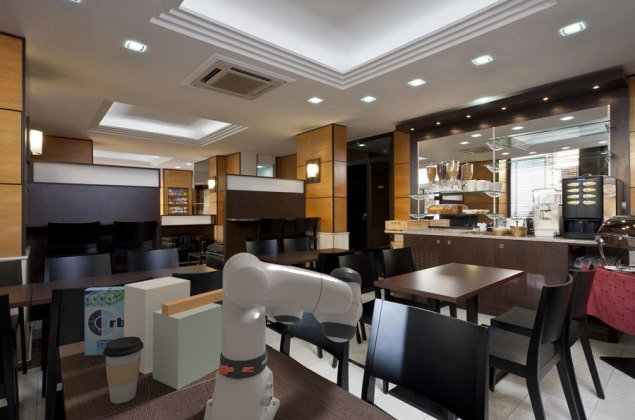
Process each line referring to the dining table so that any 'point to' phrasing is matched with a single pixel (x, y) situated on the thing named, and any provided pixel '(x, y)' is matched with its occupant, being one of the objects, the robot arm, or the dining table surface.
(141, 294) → the tall stand
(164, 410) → the dining table surface
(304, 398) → the dining table surface
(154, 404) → the dining table surface
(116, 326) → the gum box
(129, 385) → the coffee cup
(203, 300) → the orange rod
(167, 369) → the low stand
